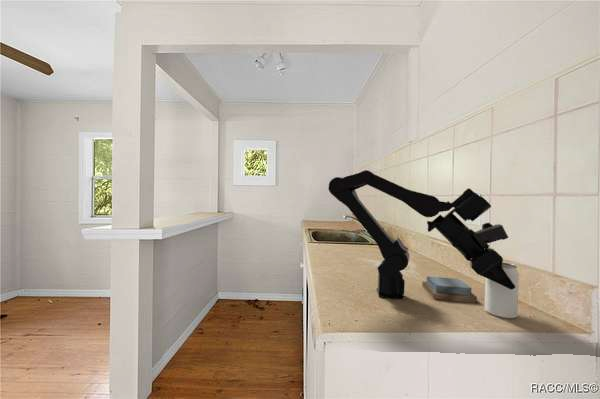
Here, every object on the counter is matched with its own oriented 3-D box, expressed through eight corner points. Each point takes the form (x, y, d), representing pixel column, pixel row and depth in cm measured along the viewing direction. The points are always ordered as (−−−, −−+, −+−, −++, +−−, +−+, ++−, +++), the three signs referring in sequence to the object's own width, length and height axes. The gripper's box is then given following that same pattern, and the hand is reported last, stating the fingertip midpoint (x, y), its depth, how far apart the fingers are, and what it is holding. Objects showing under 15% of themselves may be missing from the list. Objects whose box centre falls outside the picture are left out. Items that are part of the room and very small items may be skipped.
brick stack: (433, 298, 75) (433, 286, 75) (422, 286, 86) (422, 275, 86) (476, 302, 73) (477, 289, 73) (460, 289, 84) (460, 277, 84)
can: (523, 321, 63) (525, 268, 63) (492, 317, 64) (493, 266, 64) (508, 309, 69) (509, 262, 69) (479, 307, 70) (481, 260, 70)
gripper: (491, 214, 60) (556, 271, 55) (478, 211, 76) (526, 255, 72) (449, 246, 63) (506, 303, 58) (445, 237, 80) (489, 280, 75)
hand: (508, 282), depth 66 cm, fingers open, 9 cm apart
